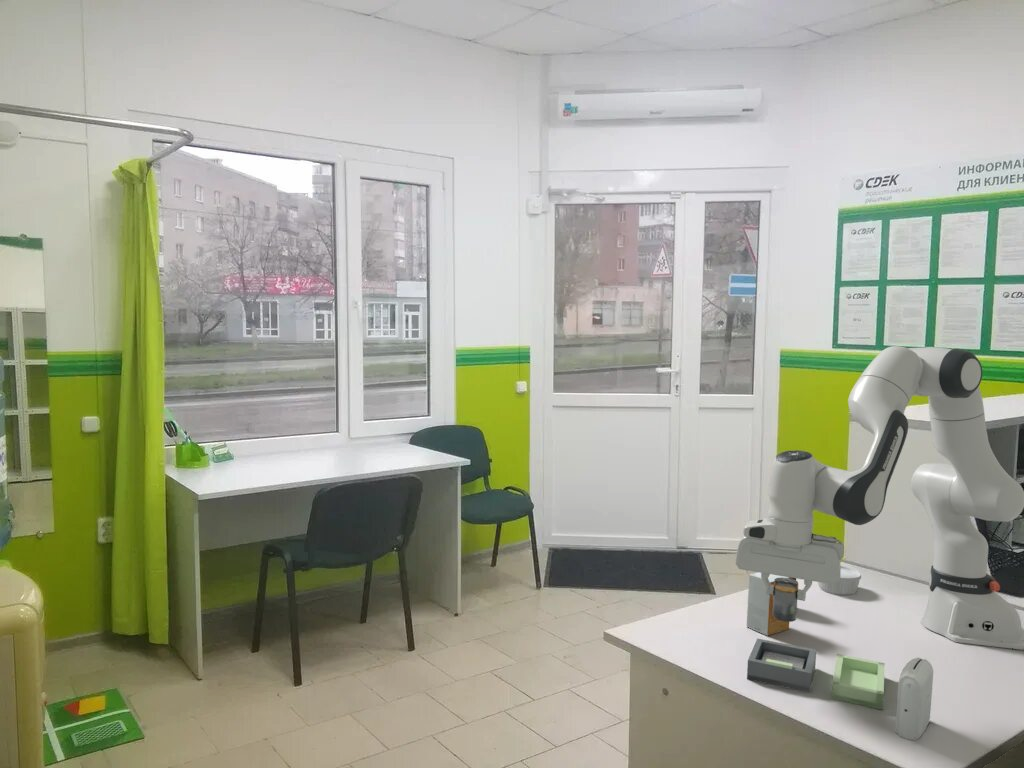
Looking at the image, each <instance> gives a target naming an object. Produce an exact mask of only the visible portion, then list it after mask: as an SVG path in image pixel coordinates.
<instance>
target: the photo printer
mask: <svg viewBox="0 0 1024 768" xmlns="http://www.w3.org/2000/svg"><path fill="white" fill-rule="evenodd" d="M933 681H934V668H933V665H932V664H931V662H930V661H929V660H927V659H923V658H921V657H915V658H912V659H910V660H909V661H908V662H907V663H906V664H905V666H903V668H902V671H901V673H900V676H899V680H898V689H897V701H896V702H897V705H896V717H895V719H896V720H895V733H896V734H897V735H898V736H899V737H900V738H903V739H904V740H905V739H906V740H909V741H915V740H919V739H920V738H921V737H922V735H923V734H924V732H925V730H926V729H927V727H928V724H929V722H930V718H931V712H932V710H931V709H932V696H933V684H934V683H933Z"/></svg>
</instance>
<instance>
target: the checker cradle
mask: <svg viewBox="0 0 1024 768" xmlns="http://www.w3.org/2000/svg"><path fill="white" fill-rule="evenodd" d="M751 649H752V650H751V652H750V655H749V657H748V659H747V670H746V671H747V673H746V679H747V680H751V681H755V682H758V683H759V682H760V683H764V684H767V685H773V686H777V687H781V688H787V689H792V690H795V691H801V692H805V693H808V694H809V693H810V692H811V689H812V685H813V680H814V675H815V672H814V671H815V670H816V661H817V649H814V648H808V647H803V646H797V645H793V644H789V643H782V642H777V641H772V640H767V639H762V638H756V641H755V643H754V645H753V647H752V648H751ZM765 651H768V652H773V653H778V654H783V655H788V656H793V657H798V658H803V659H805V663H804V667H803V669H801V668H796V667H793V664H791V663H786V662H781V661H776V660H771V659H767V660H766V661H762V658H763V655H764V652H765Z"/></svg>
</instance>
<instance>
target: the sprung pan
mask: <svg viewBox="0 0 1024 768" xmlns="http://www.w3.org/2000/svg"><path fill="white" fill-rule="evenodd" d="M767 659H771V660H776V661H781V662H786V663H791V664H793V667H796V668H801V669H803V667H804V663H805V659H803V658H798V657H793V656H788V655H783V654H778V653H773V652H768V651H765V652H764V655H763V658H762V661H766V660H767Z"/></svg>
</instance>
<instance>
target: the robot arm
mask: <svg viewBox="0 0 1024 768" xmlns="http://www.w3.org/2000/svg"><path fill="white" fill-rule="evenodd" d="M982 377H983V368H982V364H981V362H980V360H979V359H978V357H977V356H976V355H975V353H973V352H970V351H968V350H964V349H961V348H960V349H959V348H954V349H952V348H947V347H946V348H945V347H939V346H937V347H936V346H925V347H905V346H899V345H893V346H892V345H891V346H888V347H886V348H885V349H883V350H882V351H880V352H879V353H878V354H877V355H876V356H875V357H874V358H873V360H872V361H871V362H870V363H869V364H868V365H867V366H866V368H865V369H864V370H863V371H862V373H861V375H860V376H859V378H858V379H857V380H856V382H855V384H854V385H853V387H852V389H851V391H850V392H849V396H848V398H847V404H848V409H849V412H850V414H851V416H852V418H853V419H854V420H855V422H857V423H858V424H859V425H860V427H862V428H863V429H864V430H866V431H868V432H869V433H871V434H873V435H874V438H873V441H872V444H871V446H870V448H869V451H868V454H867V456H866V459H865V461H864V463H863V465H862V467H861V468H860V469H857V470H854V471H850V470H846V469H841V468H837V467H834V466H830V465H827V464H825V463H822V462H820V461H818V460H817V459H816V458H814V455H813V454H812V453H811V452H809V451H805V450H797V449H796V450H795V449H794V450H785V451H781V452H780V453H778V454H776V455H775V457H774V459H773V461H772V464H771V468H770V472H769V473H770V474H769V483H768V496H769V497H768V498H769V508H768V511H767V515H766V516H767V517H764V518H758V519H752V520H749V521H747V522H746V524H744V527H743V536H742V538H741V539H740V540H739V542H738V545H737V550H736V554H735V566H737V568H738V569H739V570H742V571H749V572H754V573H757V572H760V573H761V578H762V580H763V582H764V584H765V586H766V594H768V595H774V585H771V584H770V582H769V580H768V577H769V575H770V574H772V575H778V576H785V577H791V578H796V580H803V584H804V587H803V588H802V589H799V588H798V592H797V595H798V596H797V601H803V602H805V601H806V594H807V592H808V591H809V589H810V588H811V587H812V585H813V582H816V583H818V582H822V583H828V584H837V583H838V582H839V581H840V576H841V566H842V565H841V559H843V557H844V555H845V554H844V553H845V546H844V544H843V542H842V541H841V540H839V539H837V537H835V536H826V535H821V534H817V533H816V534H815V533H813V530H814V514H813V512H814V511H817V512H820V513H822V514H825V515H829V516H833V517H836V518H839V519H841V520H843V521H845V522H848V523H850V524H853V525H856V526H863V525H866V524H868V523H870V522H872V521H873V520H875V519H876V518H877V517H878V516H879V515H880V514H881V513H882V511H883V508H884V506H885V502H886V496H887V490H888V487H889V484H890V482H891V479H892V476H893V474H894V471H895V469H896V466H897V463H898V461H899V458H900V455H901V453H902V450H903V449H904V448H903V447H904V445H905V442H906V439H907V435H908V431H909V421H908V418H907V416H906V415H905V410H906V409H907V406H908V405H909V404H910V401H911V400H912V398H913V396H914V397H915V396H917V397H924V398H927V397H928V410H929V411H928V413H929V421H930V429H931V436H932V444H933V446H934V448H935V450H936V451H937V452H938V453H939V454H940V455H941V456H943V457H944V458H945V459H946V460H947V461H948V462H949V463H947V462H946V463H945V462H925V463H923V464H921V465H919V466H918V467H917V468H916V469H915V471H914V472H913V473H912V476H911V481H910V484H911V485H910V486H911V490H912V494H913V495H914V497H915V498H916V499H917V500H918V501H919V502H920V503H921V505H922V506H923V508H924V509H925V511H926V513H927V515H928V518H929V520H930V523H931V524H930V525H931V527H932V528H931V529H932V532H933V563H932V566H931V567H930V571H929V579H928V580H929V581H928V583H929V584H928V587H929V595H928V596H929V597H928V600H927V604H926V608H925V611H924V613H923V616H922V618H921V621H920V622H921V624H922V625H923V626H924V627H925V628H927V629H928V630H930V631H932V632H934V633H937V634H939V635H942V636H944V637H946V638H947V639H949V640H951V641H952V642H954V643H955V642H956V643H959V644H960V643H961V644H971V645H978V646H986V647H987V646H988V647H997V648H1005V649H1012V648H1013V650H1014V649H1015V650H1021V651H1023V650H1024V628H1023V627H1022V620H1021V618H1020V615H1019V613H1018V611H1017V609H1016V608H1015V607H1014V606H1013V605H1011V604H1010V603H1009V602H1008V601H1007V600H1006V599H1005V598H1003V597H1002V596H1001V595H1000V594H998V593H997V592H999V591H1000V590H1001V586H1000V584H999V582H998V581H997V580H996V578H995V577H994V576H992V574H988V573H987V570H988V569H987V568H988V560H989V559H988V557H989V544H988V541H987V539H986V537H985V536H984V535H983V534H982V533H981V532H980V531H979V530H978V529H977V528H976V527H975V525H974V523H973V521H972V518H971V517H973V518H975V519H980V520H983V521H987V522H988V521H991V522H1002V523H1003V522H1005V523H1007V522H1012V521H1014V520H1015V519H1017V517H1019V516H1020V514H1022V512H1023V510H1024V488H1023V487H1022V485H1021V484H1020V483H1019V482H1018V481H1017V480H1015V479H1014V478H1013V477H1012V476H1011V475H1009V474H1008V472H1006V470H1005V469H1004V468H1003V467H1002V466H1001V464H1000V462H999V461H998V459H997V458H996V456H995V454H994V452H993V450H992V448H991V444H990V442H989V437H988V431H987V423H986V415H985V407H984V401H983V397H982V391H981V388H980V385H981V383H982V379H983V378H982Z"/></svg>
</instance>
